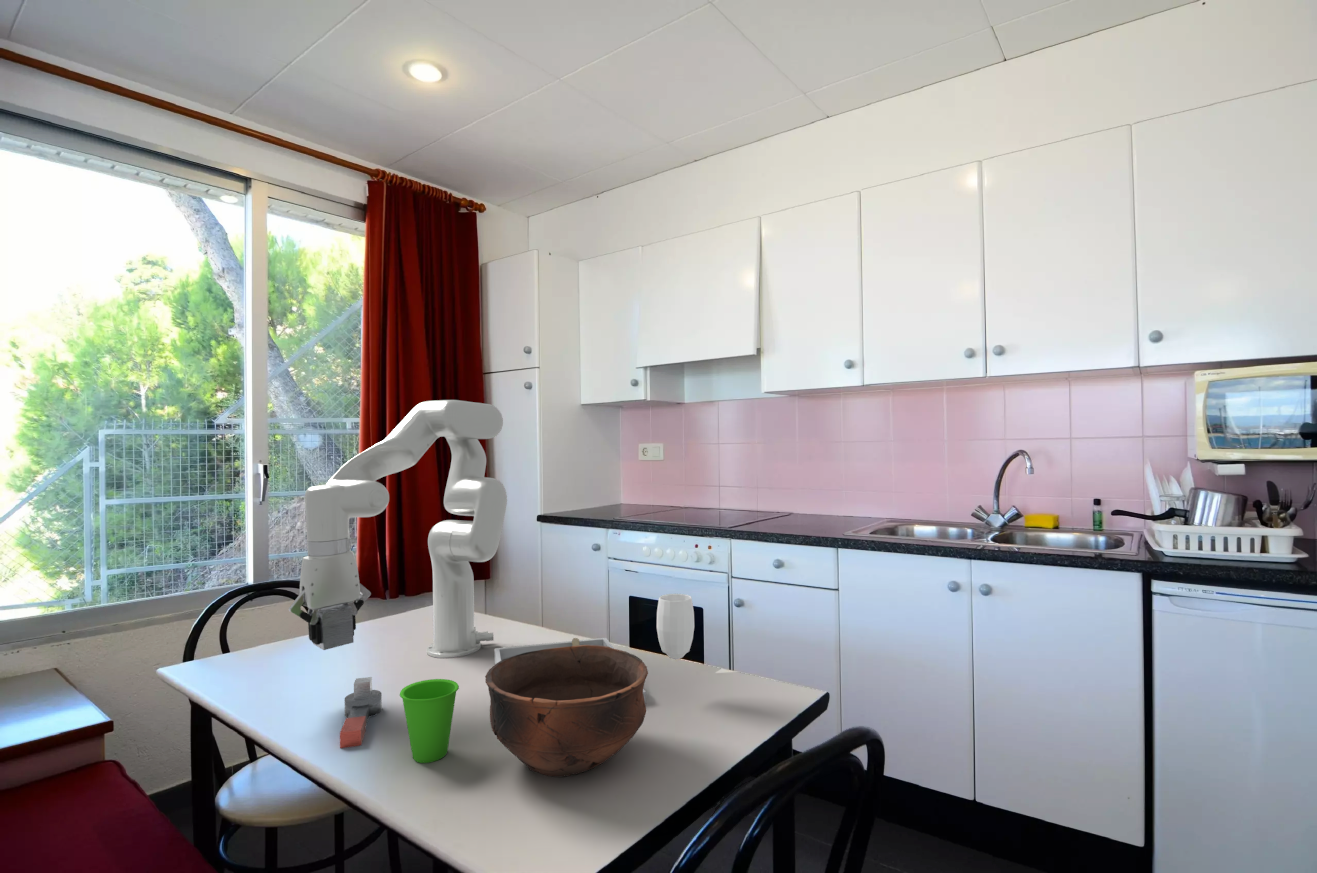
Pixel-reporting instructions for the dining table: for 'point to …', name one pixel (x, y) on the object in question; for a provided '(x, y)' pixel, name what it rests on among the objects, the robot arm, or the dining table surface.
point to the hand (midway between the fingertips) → (333, 637)
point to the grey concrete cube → (335, 626)
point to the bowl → (566, 706)
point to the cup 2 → (675, 624)
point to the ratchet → (359, 712)
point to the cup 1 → (429, 717)
